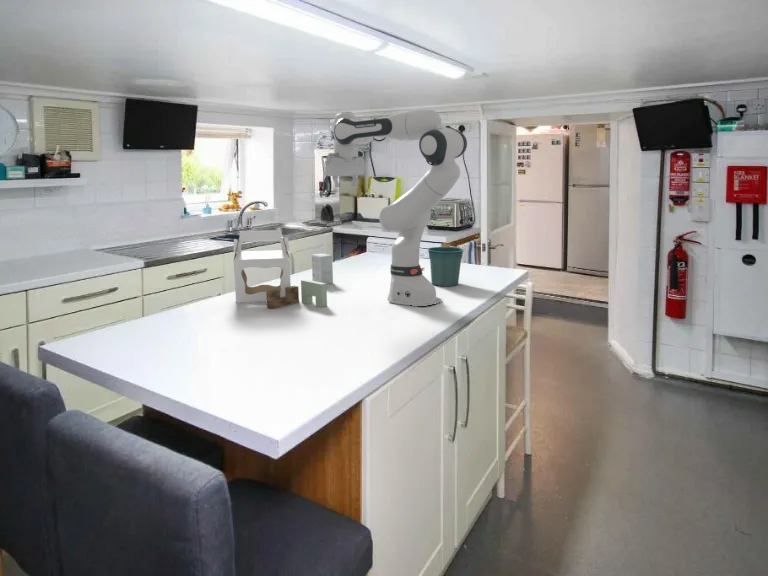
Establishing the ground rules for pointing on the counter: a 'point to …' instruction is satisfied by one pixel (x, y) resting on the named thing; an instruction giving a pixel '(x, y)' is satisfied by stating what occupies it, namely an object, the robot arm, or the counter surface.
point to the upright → (277, 301)
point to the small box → (322, 268)
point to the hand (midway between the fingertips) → (345, 186)
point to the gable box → (260, 264)
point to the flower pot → (445, 265)
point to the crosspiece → (314, 292)
